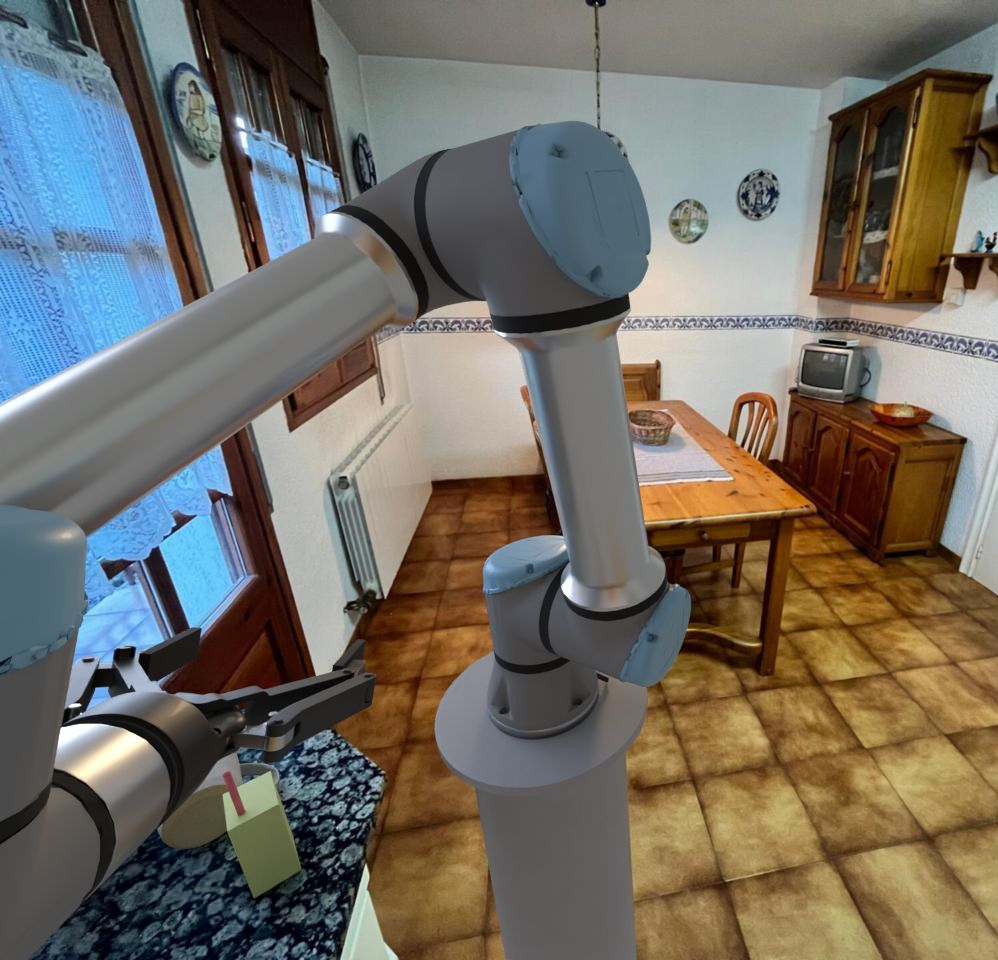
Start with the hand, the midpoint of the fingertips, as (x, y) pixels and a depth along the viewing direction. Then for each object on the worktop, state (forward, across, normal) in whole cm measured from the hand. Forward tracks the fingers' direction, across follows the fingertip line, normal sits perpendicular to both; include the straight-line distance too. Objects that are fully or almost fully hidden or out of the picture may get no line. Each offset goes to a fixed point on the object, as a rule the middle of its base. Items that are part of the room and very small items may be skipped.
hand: (279, 647), depth 48 cm
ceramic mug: (+14, -8, -24) cm, 29 cm away
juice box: (+6, +1, -24) cm, 25 cm away
